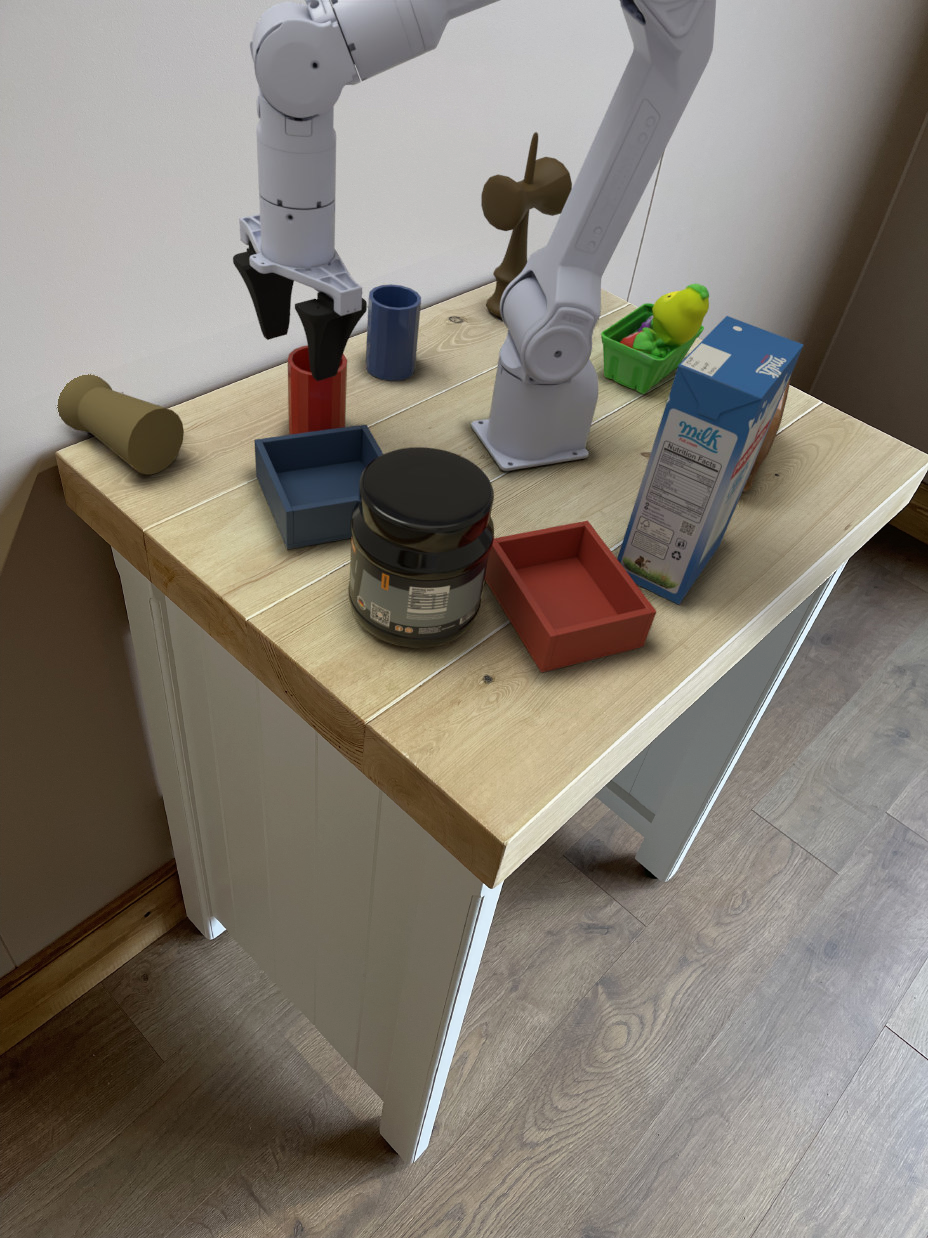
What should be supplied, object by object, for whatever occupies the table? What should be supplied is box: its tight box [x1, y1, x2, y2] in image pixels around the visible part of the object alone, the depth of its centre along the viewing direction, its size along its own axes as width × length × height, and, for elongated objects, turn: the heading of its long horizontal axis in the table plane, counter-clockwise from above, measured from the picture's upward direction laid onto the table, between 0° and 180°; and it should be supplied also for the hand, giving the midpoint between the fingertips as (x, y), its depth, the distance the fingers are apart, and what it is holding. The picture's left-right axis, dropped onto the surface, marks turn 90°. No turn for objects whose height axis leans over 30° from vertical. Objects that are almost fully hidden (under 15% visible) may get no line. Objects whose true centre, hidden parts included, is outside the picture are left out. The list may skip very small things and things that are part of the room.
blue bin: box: [253, 423, 384, 550], centre depth 79 cm, size 10×10×4 cm
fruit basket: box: [600, 283, 710, 395], centre depth 99 cm, size 11×9×11 cm
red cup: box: [287, 344, 348, 435], centre depth 85 cm, size 5×5×8 cm
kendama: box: [480, 131, 573, 319], centre depth 102 cm, size 6×10×20 cm, turn 139°
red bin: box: [484, 520, 657, 673], centre depth 73 cm, size 9×11×4 cm
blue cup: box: [365, 284, 422, 382], centre depth 95 cm, size 5×5×8 cm
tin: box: [742, 380, 791, 493], centre depth 90 cm, size 15×3×8 cm, turn 159°
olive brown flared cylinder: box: [56, 373, 185, 475], centre depth 81 cm, size 6×6×11 cm
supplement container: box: [347, 446, 495, 649], centre depth 69 cm, size 10×10×12 cm
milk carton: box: [616, 315, 804, 606], centre depth 74 cm, size 10×6×20 cm, turn 148°
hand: (299, 355), depth 79 cm, fingers open, 7 cm apart
